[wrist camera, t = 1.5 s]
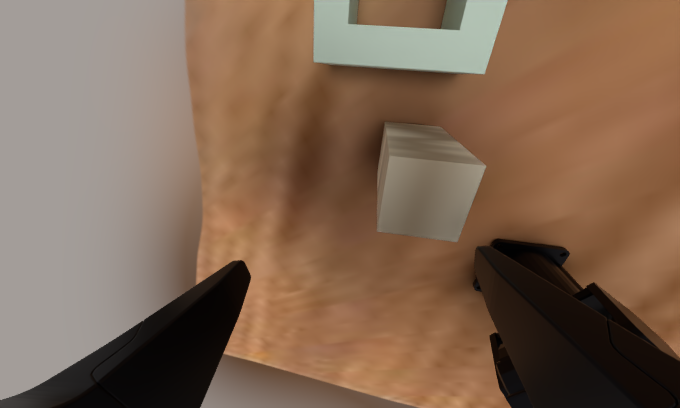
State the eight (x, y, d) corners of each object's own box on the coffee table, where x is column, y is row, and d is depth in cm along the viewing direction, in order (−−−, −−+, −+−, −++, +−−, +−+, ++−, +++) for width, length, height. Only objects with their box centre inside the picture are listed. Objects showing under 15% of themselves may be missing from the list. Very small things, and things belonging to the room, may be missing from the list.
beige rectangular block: (436, 122, 19) (486, 165, 10) (424, 171, 21) (457, 242, 12) (384, 118, 19) (389, 155, 10) (377, 166, 21) (376, 231, 12)
